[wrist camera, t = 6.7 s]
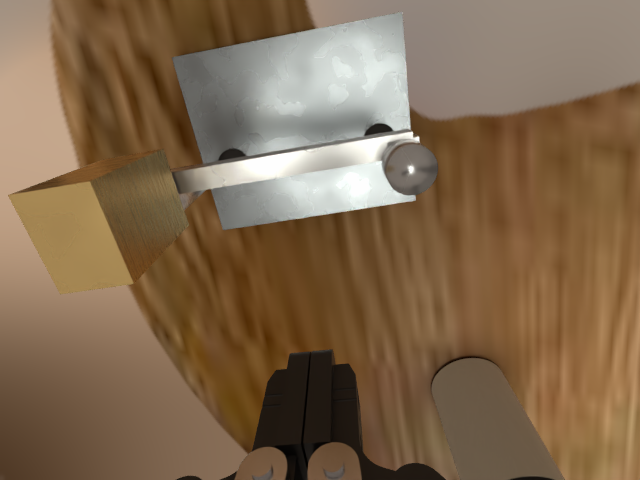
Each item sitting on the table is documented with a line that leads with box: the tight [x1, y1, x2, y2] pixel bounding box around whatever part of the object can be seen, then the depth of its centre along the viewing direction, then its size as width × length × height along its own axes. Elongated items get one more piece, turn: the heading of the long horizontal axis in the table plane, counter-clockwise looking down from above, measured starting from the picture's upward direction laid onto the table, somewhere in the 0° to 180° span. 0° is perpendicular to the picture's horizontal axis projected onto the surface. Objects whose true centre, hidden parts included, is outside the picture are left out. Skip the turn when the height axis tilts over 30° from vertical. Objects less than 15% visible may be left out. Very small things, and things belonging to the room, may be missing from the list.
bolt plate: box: [170, 12, 438, 230], centre depth 24 cm, size 18×14×14 cm
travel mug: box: [432, 358, 565, 480], centre depth 33 cm, size 8×8×18 cm
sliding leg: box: [8, 149, 205, 294], centre depth 21 cm, size 3×4×18 cm
